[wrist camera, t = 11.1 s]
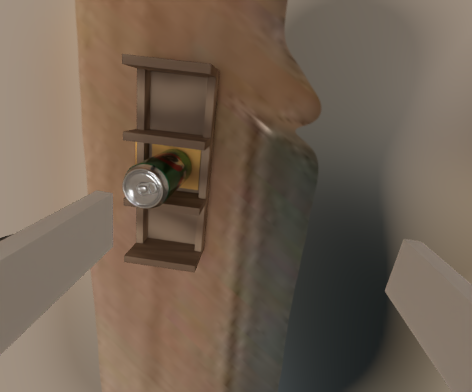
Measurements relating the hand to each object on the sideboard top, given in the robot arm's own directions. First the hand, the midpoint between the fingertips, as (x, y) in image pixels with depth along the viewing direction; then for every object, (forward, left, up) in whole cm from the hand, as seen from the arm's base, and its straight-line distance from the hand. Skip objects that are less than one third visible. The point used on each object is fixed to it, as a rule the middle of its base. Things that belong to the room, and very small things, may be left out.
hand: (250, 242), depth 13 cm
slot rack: (+9, -7, -28) cm, 31 cm away
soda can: (+9, -7, -28) cm, 30 cm away
